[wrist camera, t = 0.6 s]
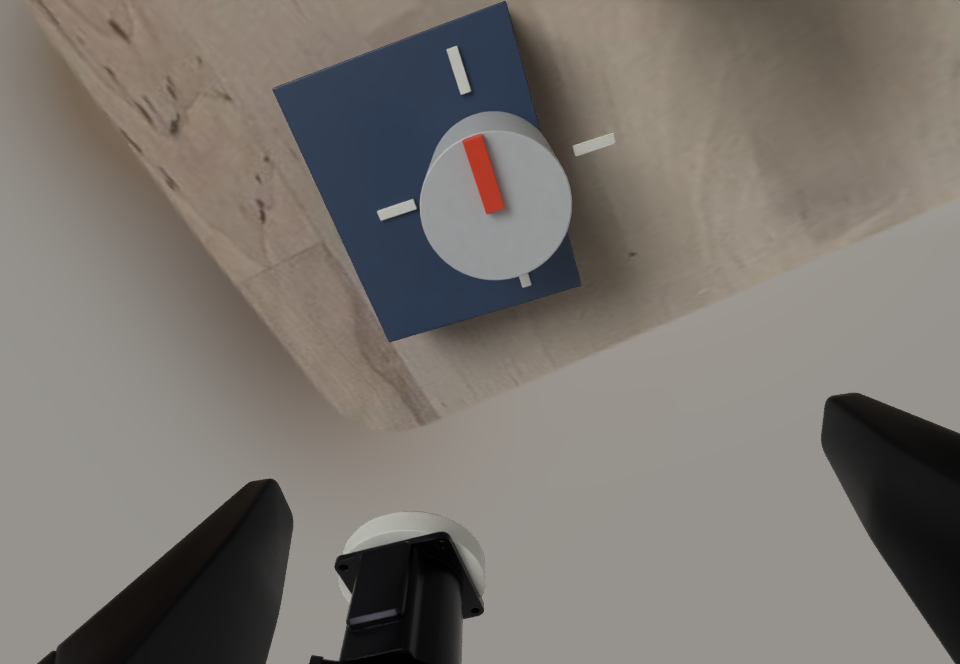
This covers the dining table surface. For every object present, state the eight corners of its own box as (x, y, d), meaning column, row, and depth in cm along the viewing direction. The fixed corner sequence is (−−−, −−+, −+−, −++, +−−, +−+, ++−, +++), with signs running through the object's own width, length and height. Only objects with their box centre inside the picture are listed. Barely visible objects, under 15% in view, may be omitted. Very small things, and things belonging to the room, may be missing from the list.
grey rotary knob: (569, 217, 21) (589, 259, 17) (454, 253, 21) (449, 302, 18) (536, 92, 19) (551, 108, 15) (411, 136, 19) (394, 163, 16)
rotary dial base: (623, 242, 24) (642, 270, 22) (398, 310, 26) (388, 344, 23) (565, -20, 20) (579, -28, 17) (297, 80, 21) (269, 89, 19)
